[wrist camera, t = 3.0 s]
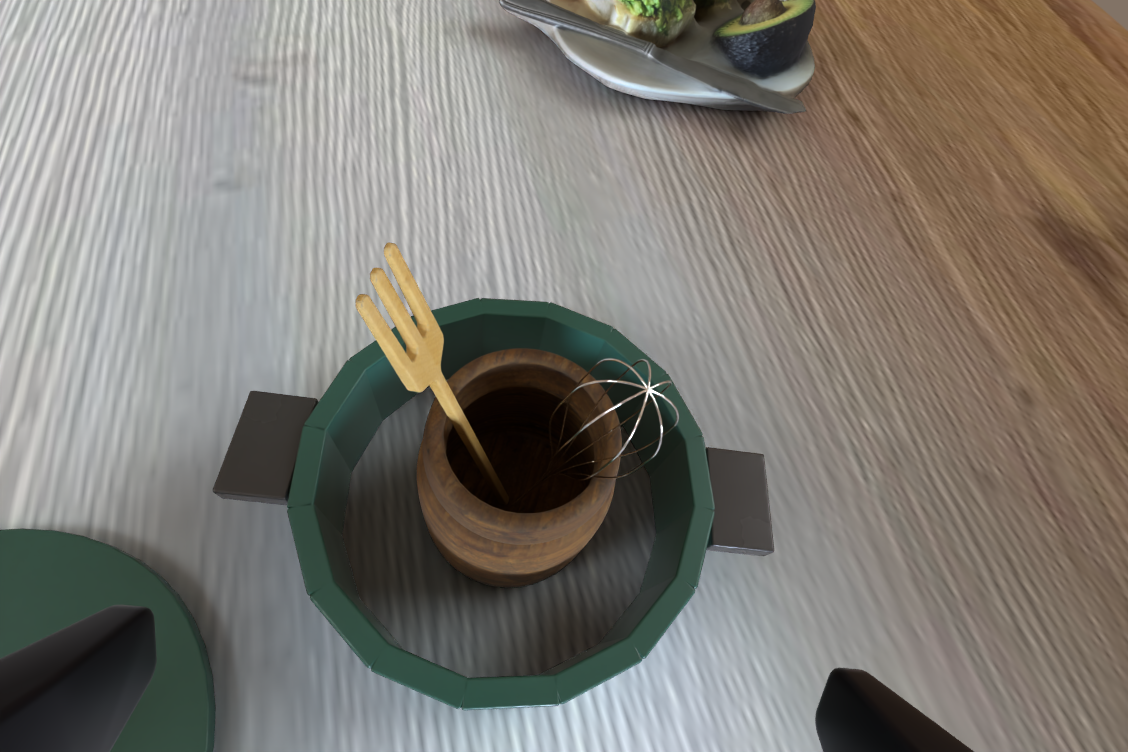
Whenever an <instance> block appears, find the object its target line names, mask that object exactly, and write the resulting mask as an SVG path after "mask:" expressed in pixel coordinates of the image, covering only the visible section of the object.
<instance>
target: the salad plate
mask: <svg viewBox="0 0 1128 752" xmlns="http://www.w3.org/2000/svg"><path fill="white" fill-rule="evenodd" d="M499 3H500V5H501V7H502V8H503V9H505V10H506V11H507V12H509V13H511V14H513V15H515V16H516V17H518V18H520V19H522V20H524V21H526V22H528V23H530V24H532V25H534V26H536V27H537V28H539V29H540V30H541V31H543V32H544V33H545V34H546V35H547V36H548V37H549V38H550V39H551V40H552V41H553V42H554V43H555V44H556V45H557V46H558V47H559V49H560V50H561V51H562V53H563V54H564V55H565V57H566V58H567V59H569V60H570V61H571V62H573V63H574V64H575V65H577V66H578V67H579V68H581V69H582V70H584V71H585V72H587V73H588V74H590V75H591V76H593V77H594V78H595V79H597V80H598V81H599V82H601V83H602V84H604V85H605V86H607V87H609V88H612V89H615V90H617V91H620V92H623V93H627V94H630V95H633V96H637V97H641V98H645V99H652V100H663V101H670V102H679V103H687V104H693V105H700V106H706V107H710V108H716V109H722V110H744V111H757V110H761V111H769V112H777V113H784V114H792V113H798V112H804V111H806V109H805V107H804V106H803V103H802V101H799V100H796V99H794V98H795V97H796V96H797V95H798V94H799V93H801V92H802V90H803V89H804V88H805V87H806V86H807V85H808V84H809V82H810V81H811V79H812V76H813V72H814V69H815V64H814V57H813V54H812V50H811V47H810V45H809V42H808V40H807V39H808V35H809V33H810V30H811V28H812V26H813V20H814V14H815V9H816V5H815V0H499Z"/></svg>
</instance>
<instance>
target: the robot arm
mask: <svg viewBox="0 0 1128 752" xmlns="http://www.w3.org/2000/svg"><path fill="white" fill-rule="evenodd" d="M156 662H157V654H156V638H155V621H154V614H153V612H152V611H151V610H150V609H149V608H147V607H141V606H130V605H113V606H110V607H108V608H105V609H103V610H101V611H99V612H97V613H95V614H93V615H91V616H89V617H86V618H84V619H82V620H80V621H78V622H76V623H74V624H72V625H70V626H68V627H66V628H63V629H61V630H59V631H57V632H55V633H53V634H51V635H49V636H47V637H45V638H43V639H41V640H38V641H36V642H34V643H32V644H30V645H28V646H26V647H24V648H22V649H20V650H18V651H15V652H13V653H11V654H9V655H7V656H5V657H3V658H1V659H0V752H110V751H111V749H112V747H113V746H114V744H115V742H116V741H117V739H118V737H119V735H120V734H121V732H122V730H123V728H124V727H125V725H126V723H127V721H128V720H129V718H130V716H131V714H132V713H133V711H134V709H135V707H136V706H137V704H138V702H139V700H140V699H141V697H142V695H143V694H144V692H145V690H146V688H147V687H148V685H149V683H150V681H151V679H152V677H153V674H154V671H155V668H156ZM815 721H816V730H817V734H818V737H819V740H820V743H821V746H822V749H823V752H974V751H973V750H971V749H970V748H969V747H967V746H966V745H964V744H963V743H962V742H960V741H959V740H958V739H956V738H955V737H954V736H952V735H951V734H950V733H948V732H947V731H946V730H944V729H943V728H942V727H940V726H939V725H938V724H936V723H935V722H934V721H932V720H931V719H929V718H928V717H927V716H925V715H924V714H923V713H921V712H920V711H919V710H917V709H916V708H915V707H913V706H912V705H911V704H909V703H908V702H907V701H905V700H904V699H903V698H901V697H900V696H899V695H897V694H896V693H895V692H893V691H892V690H890V689H889V688H888V687H886V686H885V685H884V684H882V683H881V682H880V681H878V680H877V679H876V678H874V677H873V676H872V675H870V674H869V673H867V672H865V671H863V670H859V669H848V668H836V669H834V670H833V671H832V672H831V673H830V675H829V677H828V680H827V683H826V686H825V688H824V691H823V694H822V697H821V699H820V702H819V705H818V708H817V711H816V718H815Z"/></svg>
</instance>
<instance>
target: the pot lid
mask: <svg viewBox="0 0 1128 752" xmlns="http://www.w3.org/2000/svg"><path fill="white" fill-rule="evenodd" d="M113 605H130V606H141V607H147V608H149V609H150V610H151V611H152V612H153V614H154V621H155V638H156V654H157V662H156V668H155V671H154V674H153V677H152V679H151V681H150V683H149V685H148V687H147V688H146V690H145V692H144V694H143V695H142V697H141V699H140V700H139V702H138V704H137V706H136V707H135V709H134V711H133V713H132V714H131V716H130V718H129V720H128V721H127V723H126V725H125V727H124V728H123V730H122V732H121V734H120V735H119V737H118V739H117V741H116V742H115V744H114V746H113V747H112V749H111V751H110V752H213V747H214V731H215V699H214V688H213V677H212V672H211V668H210V664H209V660H208V656H207V651H206V647H205V644H204V642H203V640H202V637H201V635H200V632H199V630H198V628H197V625H196V623H195V620H194V618H193V617H192V615H191V614H190V612H189V611H188V609H187V607H186V606H185V604H184V603H183V601H182V600H181V598H180V596H179V595H178V594H177V593H176V592H175V591H174V590H173V589H172V588H171V587H170V585H169V584H168V583H167V582H166V581H165V580H164V579H163V578H162V577H161V576H160V575H159V574H157V573H156V572H155V571H154V570H152V569H151V568H150V567H148V566H147V565H146V564H144V563H143V562H142V561H141V560H139V559H137V558H135V557H133V556H131V555H129V554H127V553H126V552H124V551H122V550H120V549H118V548H116V547H113V546H110V545H108V544H105V543H102V542H99V541H96V540H93V539H90V538H87V537H85V536H80V535H75V534H70V533H64V532H59V531H53V530H36V529H9V530H0V659H1V658H3V657H5V656H7V655H9V654H11V653H13V652H15V651H18V650H20V649H22V648H24V647H26V646H28V645H30V644H32V643H34V642H36V641H38V640H41V639H43V638H45V637H47V636H49V635H51V634H53V633H55V632H57V631H59V630H61V629H63V628H66V627H68V626H70V625H72V624H74V623H76V622H78V621H80V620H82V619H84V618H86V617H89V616H91V615H93V614H95V613H97V612H99V611H101V610H103V609H105V608H108V607H110V606H113Z"/></svg>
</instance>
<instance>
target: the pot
mask: <svg viewBox="0 0 1128 752" xmlns="http://www.w3.org/2000/svg"><path fill="white" fill-rule="evenodd" d="M431 312H432V314H433V316H434V318H435V320H436V321H437V323H438V325H439V327H440V330H441V332H442V334H443V338H444V343H443V350H442V357H441V364H440V366H441V372H442V374H443V376H444V378H445V379H446V380H448V379H449V378H450V377H451V376H452V375H453V374H455V373H456V372H457V371H458V370H459V369H461V368H462V367H463V366H465V365H466V364H468V363H469V362H471V361H473V360H475V359H477V358H479V357H481V356H483V355H486V354H489V353H492V352H496V351H500V350H506V349H516V348H527V349H537V350H542V351H547V352H550V353H554V354H557V355H559V356H562V357H564V358H566V359H568V360H570V361H572V362H574V363H575V364H577V365H579V366H580V367H582V368H583V369H584V370H586V371H587V372H588V371H589V370H590V369H591V368H592V367H593V366H594V365H596V364H597V363H598V362H599V361H601V360H604V359H609V358H611V359H618V360H620V361H623V362H625V363H626V364H628V365H629V366H632V365H633V364H634V363H635V362H637V361H638V360H641V359H645V360H647V361H648V362H649V364H650V367H651V381H650V387H651V386H654V385H656V384H658V383H661V382H664V381H668V380H669V381H671V382H672V380H671V378H670V377H669V375H668V374H666V372H665V371H664V370H663V369H662V368H661V367H660V366H658V365H657V364H656V363H655V362H654V361H653V360H651V359H650V358H649V357H648V356H647V355H646V354H644V353H643V352H642V351H641V350H640V349H638V348H637V347H636V346H635V345H634V344H633V343H631V342H630V341H629V340H628V339H627V338H626V337H624V336H623V335H622V334H621V333H620V332H618V331H617V330H616V329H613V327H612V326H609V325H607V324H604V323H602V322H599V321H596V320H594V319H591V318H589V317H586V316H584V315H581V314H579V313H576V312H574V311H571V310H569V309H566V308H564V307H561V306H559V305H556V304H554V303H551V302H550V303H548V302H539V301H522V300H505V299H488V298H481V299H479V298H476V299H473V300H469V301H465V302H461V303H458V304H454V305H450V306H447V307H443V308H439V309H436V310H432V311H431ZM411 319H412V320H413V322H414V324H415V325H416V327H417V321H416V319H415V317H414V316H411ZM391 331H392V332H393V334H394V335H395V337H396V338H397V340H398V342H399V343H400V345H401V346H402V348H403V349H404V351H405V352H406V344H405V342H404V341H403V339H402V337H401V335H400V333H399V331H398V330H397V328H396V327H394V328H393V329H392V330H391ZM349 360H350V361H349ZM349 360H348V361H347V362H346V363H345V365H344V366H343V367H342V369H341V370H340V372H339V373H338V375H337V376H336V378H335V379H334V381H333V382H332V384H331V385H330V387H329V388H328V389H327V391H326V392H325V394H324V395H323V397H322V398H321V400H320V401H319V402H318V400H317V399H315V398H307V397H299V396H291V395H283V394H275V393H267V392H259V391H251V392H250V394H249V396H248V399H247V401H246V404H245V407H244V409H243V412H242V414H241V417H240V420H239V422H238V425H237V428H236V430H235V433H234V435H233V438H232V441H231V443H230V446H229V448H228V451H227V454H226V456H225V459H224V462H223V464H222V467H221V469H220V472H219V475H218V477H217V480H216V482H215V485H214V488H213V492H214V493H215V494H217V495H218V496H219V497H221V498H224V499H233V500H242V501H252V502H261V503H271V504H280V505H287V508H288V510H287V513H288V517H289V521H290V525H291V529H292V533H293V537H294V541H295V546H296V550H297V554H298V558H299V562H300V566H301V570H302V575H303V579H304V583H305V587H306V591H307V594H308V595H309V596H310V600H311V601H312V602H313V603H314V604H315V606H316V607H317V608H318V609H319V610H320V612H321V613H322V614H323V615H324V616H325V618H326V619H327V620H328V621H329V622H330V624H331V625H332V626H333V627H334V628H335V630H336V631H337V632H338V633H339V634H340V636H341V637H342V638H343V639H344V640H345V642H346V643H347V644H348V645H349V646H350V648H351V649H352V650H353V651H354V652H355V654H356V655H357V656H358V657H359V658H360V660H361V661H362V662H363V663H364V664H365V666H366V667H367V668H370V669H371V671H372V672H374V673H376V674H379V675H381V676H383V677H385V678H388V679H390V680H392V681H395V682H397V683H399V684H401V685H404V686H406V687H408V688H411V689H413V690H415V691H417V692H420V693H422V694H424V695H427V696H429V697H431V698H433V699H436V700H438V701H440V702H443V703H445V704H447V705H449V706H452V707H454V708H456V709H460V708H461V707H462V710H481V709H503V708H524V707H546V706H558V705H559V704H564V703H566V702H568V701H570V700H572V699H574V698H575V697H577V696H579V695H581V694H583V693H585V692H587V691H588V690H590V689H592V688H594V687H596V686H598V685H600V684H601V683H603V682H605V681H607V680H609V679H611V678H613V677H614V676H616V675H618V674H620V673H622V672H624V671H626V670H627V669H629V668H631V667H633V666H635V665H637V664H639V663H640V662H641V661H642V659H644V658H646V657H647V656H648V654H649V653H650V652H651V650H652V649H653V648H654V646H655V645H656V644H657V642H658V641H659V640H660V638H661V637H662V636H663V634H664V633H665V632H666V630H667V629H668V628H669V626H670V625H671V624H672V622H673V621H674V620H675V618H676V617H677V616H678V614H679V613H680V612H681V610H682V609H683V608H684V606H685V605H686V604H687V602H688V601H689V600H690V598H691V597H692V596H693V594H694V593H695V589H696V588H697V586H698V582H699V578H700V574H701V569H702V565H703V561H704V557H705V552H706V550H710V551H720V552H729V553H739V554H748V555H758V556H765V555H768V554H770V553H773V552H774V544H773V535H772V525H771V516H770V507H769V498H768V489H767V479H766V470H765V461H764V455H763V454H757V453H749V452H741V451H733V450H725V449H717V448H709V447H708V448H706V449H705V443H704V438H703V437H702V435H703V434H702V432H701V430H700V429H699V427H698V425H697V423H696V422H695V420H694V418H693V416H692V415H691V413H690V411H689V410H688V408H687V406H686V404H685V403H684V401H683V399H682V397H681V396H680V394H679V392H678V390H677V389H676V387H675V385H674V384H673V382H672V383H671V385H670V387H669V388H668V389H667V390H666V391H664V392H663V393H662V395H663V396H665V397H666V398H668V399H669V400H670V401H671V402H672V403H673V404H674V405H675V406H676V408H677V410H678V413H679V420H678V423H677V425H676V426H675V427H674V428H673V429H672V430H671V431H670V432H668V433H667V434H666V435H664V436H663V437H662V442H661V446H660V449H659V451H658V453H657V454H656V455H655V456H654V457H653V458H652V459H651V460H650V461H648V462H647V463H646V464H644V466H645V468H646V470H647V472H648V474H649V476H650V480H651V489H652V498H653V508H654V517H655V526H656V538H655V541H654V545H653V548H652V552H651V555H650V559H649V562H648V566H647V569H646V573H645V576H644V580H643V583H642V587H641V590H640V594H639V595H638V596H637V597H636V599H635V600H634V601H633V602H632V603H631V605H630V606H629V607H628V608H627V610H626V611H625V612H624V613H623V615H622V616H621V617H620V618H619V620H618V621H617V622H616V623H615V625H614V626H613V627H612V628H611V629H610V631H609V632H608V633H607V634H606V636H605V637H604V638H603V639H602V641H601V642H600V643H599V644H598V645H596V646H594V647H592V648H590V649H588V650H586V651H584V652H582V653H580V654H578V655H577V656H575V657H573V658H571V659H569V660H567V661H565V662H563V663H561V664H559V665H557V666H555V667H553V668H551V669H549V670H547V671H545V672H543V673H541V674H539V675H531V676H505V677H478V678H467V677H465V676H463V675H460V674H458V673H456V672H453V671H451V670H449V669H446V668H444V667H442V666H440V665H437V664H435V663H433V662H430V661H428V660H426V659H423V658H421V657H419V656H417V655H414V654H412V653H410V652H407V651H405V650H404V649H403V648H402V647H401V646H400V645H399V644H398V643H397V641H396V640H395V639H394V638H393V637H392V636H391V634H390V633H389V632H388V631H387V630H386V629H385V627H384V626H383V625H382V624H381V623H380V622H379V620H378V619H377V618H376V617H375V616H374V615H373V613H372V612H371V611H370V610H369V609H368V608H367V606H366V605H365V604H364V603H363V602H362V601H361V600H360V598H359V595H358V591H357V588H356V584H355V580H354V577H353V573H352V570H351V566H350V562H349V559H348V555H347V551H346V548H345V544H344V541H343V537H342V531H343V524H344V518H345V511H346V504H347V498H348V491H349V484H350V478H351V472H352V470H353V469H354V467H355V465H356V464H357V462H358V460H359V459H360V457H361V455H362V454H363V452H364V450H365V449H366V447H367V446H368V444H369V442H370V441H371V439H372V437H373V436H374V434H375V432H376V431H377V429H378V427H379V426H380V424H381V422H382V421H383V420H384V419H385V418H386V417H388V416H389V415H390V414H392V413H393V412H394V411H395V410H397V409H398V408H399V407H401V406H402V405H403V404H405V403H406V402H407V401H408V400H410V399H411V398H412V397H414V396H415V395H416V394H417V393H419V392H415V391H409V390H407V388H406V387H405V385H404V384H403V382H402V381H401V379H400V378H399V376H398V375H397V373H396V371H395V370H394V368H393V366H392V365H391V363H390V362H389V360H388V358H387V357H386V355H385V354H384V352H383V350H382V349H381V347H380V345H379V344H378V342H377V341H374V342H373V343H371V344H370V345H368V346H367V347H366V348H364V349H363V350H361V351H360V352H358V353H357V354H355V355H354V356H353V357H351V358H350V359H349ZM632 368H633V369H634V370H635V371H636V372H637V373H638V374H639V375H640V376H641V378H642V379H643V380H644V382H645V383H646V385H648V377H649V369H648V365H647V363H646V362H643V361H642V362H639V363H637V364H636V365H635V366H633V367H632ZM627 369H628V367H627V366H625V365H624V364H622V363H619V362H616V361H604V362H602V363H600V364H599V365H598V366H596V367H595V368H594V369H593V370H592V371H591V372H590V373H589V374H590V375H591V376H592V377H594V378H595V379H596V380H597V381H598V380H617V379H618V378H619V377H620V376H621V375H622V374H623V373H624V372H625V371H626V370H627ZM619 381H626V382H631V383H634V384H638V385H641V386H644V385H643V383H642V382H641V380H640V379H639V378H638V376H637V375H636V374H635V373H634V372H633V371H632V370H631V369H630V370H629V371H628V372H627V373H626V374H625V375H624V376H622V377H621V378H620V379H619ZM613 383H614V382H601V383H599V384H600V385H601V386H602V388H603V389H604V390H605V392H606V390H607V389H608V388H609V387H610V386H611V385H612V384H613ZM668 385H669V383H665V384H662V385H659V386H657V387H655V388H653V389H651V390H654V391H656V392H658V393H660V392H661V391H662V390H664V389H665V388H666V387H667V386H668ZM644 387H645V386H644ZM643 390H645V389H642V388H640V387H636V386H633V385H629V384H624V383H615V384H614V385H613V386H612V388H611V389H610V390H609V391H608V392H607V395H608V396H609V398H610V400H611V402H612V404H613V406H615V405H617V404H618V403H620V402H622V401H624V400H625V399H627V398H629V397H631V396H633V395H635V394H637V393H639V392H641V391H643ZM651 393H652V392H651ZM645 395H646V392H644V393H642V394H640V395H638V396H636V397H634V398H632V399H630V400H629V401H627V402H625V403H623V404H621V405H620V406H618V407H616V408H615V410H616V413H617V416H618V419H619V423H620V424H621V423H622V422H623V421H625V420H626V419H628V418H629V417H630V416H632V415H633V414H634V413H636V412H637V411H638V410H639V409H641V408H642V406H643V403H644V399H645ZM652 395H653V397H655V396H657V394H655V393H652ZM651 400H652V398H651V396H650V394H649V393H648V397H647V401H646V404H647V403H648V402H649V401H651ZM655 401H656V403H657V406H658V408H659V411H660V415H661V419H662V426H663V434H664V433H665V432H666V431H667V430H669V429H670V428H671V427H672V426H673V425H674V424H675V422H676V419H677V414H676V411H675V409H674V407H673V406H672V405H671V404H670V403H669V402H668V401H667V400H665V399H664V398H662V397H660V396H658V397H657V398H656V399H655ZM640 412H641V411H640ZM640 412H639V413H637V414H636V415H635V416H633V417H632V418H631V419H629V420H628V421H627V422H625V423H624V424H622V426H623V427H624V428H625V430H626V432H627V433H628V435H629V436H630V435H631V433H632V431H633V429H634V427H635V425H636V422H637V420H638V418H639V415H640ZM658 437H660V421H659V417H658V413H657V410H656V407H655V405H654V402H653V401H652V402H651V403H650V404H649V405H648V406H646V407H645V408H644V411H643V414H642V416H641V419H640V421H639V424H638V426H637V428H636V430H635V432H634V434H633V436H632V438H631V441H632V443H633V445H634V447H635V449H636V450H638V449H640V448H642V447H644V446H646V445H648V444H650V443H651V442H653V441H654V440H656V439H657V438H658ZM659 441H660V439H659V440H658V441H656V442H655V443H653V444H652V445H650V446H648V447H647V448H645V449H643V450H641V451H638V452H637V453H638V455H639V457H640V458H641V460H642V462H645V461H646V460H647V459H649V458H650V457H651V456H652V455H653V454H654V453H655V452H656V450H657V448H658V445H659Z"/></svg>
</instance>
